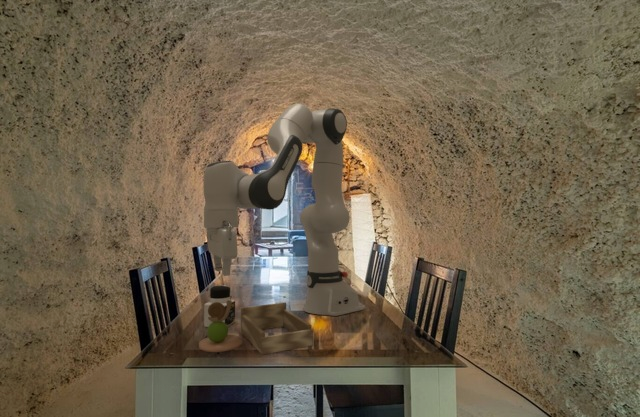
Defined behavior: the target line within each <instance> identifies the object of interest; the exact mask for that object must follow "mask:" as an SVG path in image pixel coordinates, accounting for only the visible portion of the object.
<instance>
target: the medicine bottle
mask: <svg viewBox="0 0 640 417" xmlns="http://www.w3.org/2000/svg"><path fill="white" fill-rule="evenodd" d="M209 291H210V292H209V293H210V295H209V301H208V302H206V303H204V309H203V310H204V311H203V312H204V313H203V314H204V318H203V322H204V324H203V326H204V327H205V328H208V327H209V325H210V324H211V323H213V322H211V321H210V320H209V319H208V317H211V316H210V315H209V314H208V308H209V306H210V305H211V304H212V303H215V302H219V303H221V304H223V305H224V307H225V310H226V307H227V304H226V302H227V301H228V300H231V301H232V304H231V308H230V312H229V315H228V317H227V318H226V319H225V320H223V321H222V322H224V323H225V324H226V325H227V327H228V328H229V326H231V325H232V324H234V323H235V322H236V300H235V299H231V298H230V296H231V287H230V286H228V285H224V284H223V285H221V284H219V285H214V286H212V287H211V288H210V290H209Z"/></svg>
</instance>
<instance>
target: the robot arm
mask: <svg viewBox="0 0 640 417" xmlns="http://www.w3.org/2000/svg"><path fill="white" fill-rule="evenodd" d="M347 128H348V121H347V117H346V115H345V114H344V112H343V111H342V110H341V109H339V108H334V107H333V108H330V107H329V108H327V109H325V108H324V109H316V110H313V111H312V110H311V109H310V107H308V106H307V105H305V104H304V103H293V104H291V105H290V106H288V107H287V108H286V109H284V111H283V112H282V113H280V115H279V117H277V118H276V120H275V121H274V122H273V124H272V125H271V127H270V128H269V131H268V132H267V136H266V139H267V144H268V146H269V148H270V149H271V150H272V151H273V152H274V154H276V156H275V158H274V160H273V162H272V164H271V165H270V167H269V168H268V169H267V170H265V171H262V172H260V173H254V174H249V173H246V172H245V171H244V170H242V169H240V168H239V167H238V166H237V165H236V164H235V162H234V161H232V160H221V161H216V162H215V161H214V162H211V163H209V164H208V165H206V167H205V170H204V174H203V197H204V208H203V228H204V229H205V232H206V241H207V249H208V253H210V254H212V258H213V262H214V270H215V271H216V272H217V271H220V272H221V275H222V276H224V277H227V276H230V275H231V267H232V260H233V259H237V258H238V237H237V236H238V235H237V232H236V229H235V228H238V227H239V209H243V210H246V209H250V210H253V209H258V210H259V209H262V210H269V211H270V210H275V209H276V208H278V207H279V206H280V205H281V204H282V203H283V202H284V199H285V197H286V194H287V188H288V185H289V181H290V179H291V177H292V175H293V172H294V171H295V168H296V167H297V164H298V162H299V160H300V157H301V155H302V152H303V144H314V146H315V151H314V157H313V164H312V165H313V166H312V174H311V187H312V189H313V192H314V198H315V203H310V204H309V205H307V206H305V207H304V208H303V209H302V210H301V211H300V214H299V220H300V224H301V226H302V228H303V231H304V235H305V240H306V246H307V257H308V258H307V259H308V260H307V262H308V263H307V264H308V265H307V266H308V267H307V268H308V269H307V271H306V284H307V285H306V286H307V292H306V300H305V303H304V307H303V311H304V312H306V313H308V314H312V315H322V316H324V315H325V316H331V317H332V316H333V317H338V316H341V315H345V314H346V315H347V314H350V313H354V312H359V311H364V310H365V309H366V307H365V305H364V304H363V303H362V302H360V301H359V300H360V299H359V295H358V293H357V291H356V290H355V289H354V288H353V287H352V286H350V284H348V283H347V282H345V281H344V279H343V278H345V279H346V278H348V276H349V273H348V272H347V271H341V270H339V248H338V246H337V245H336V242H335V240H334V239H335V238H334V236H333V234H335V233H336V234H337V233H339V232H341V231H344V230H345V229H346V228H347V227H348V225H349V223H350V212H349V210H348V208H347V207H346V205H345V203H344V197H343V190H342V189H343V188H342V187H343V186H342V182H343V171H344V146H343V142H342V141H343V139H344V137H345V134H346V133H347Z"/></svg>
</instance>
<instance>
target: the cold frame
mask: <svg viewBox="0 0 640 417" xmlns="http://www.w3.org/2000/svg"><path fill="white" fill-rule="evenodd" d="M281 327H284V328H285V329H286V330H288V331H289V332H285V333H279V334H274V335H273V334H271V335H266V332H265V331H264V330H265V329H266V330H268V329H273V328H281ZM240 333H241V334H243V336H244V337H246V339H248V341H249V342H250V343H251V344H252V345H253V347H254V348H255V349H256V350H257V351H258V352H259V353H260V354H261V355H262V356H263V355H268V354H273V353H280V352H284V351H290V350H294V349H299V348H306V347H311V346H314V329H313V326H312V324H311V323H309V322H308V321H305V319H303V318H301V317H299V316H298V315H296V314H294V313H293V312H291V311H289V310H288V309H287V302H279V303H278V302H277V303H268V304H262V305H261V304H260V305H251V306H245V307H240Z"/></svg>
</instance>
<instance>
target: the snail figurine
mask: <svg viewBox="0 0 640 417" xmlns="http://www.w3.org/2000/svg"><path fill="white" fill-rule="evenodd" d="M232 296H233V295H230V299H229V300H228V301H227V302H226V304H227V307H226V310H225V307H224V305H223V304H221V303H219V302H215V303H212V304H211V305H210V306H209V308H208V314H209V315H210V316H211V317H208V319H209V320H210V321H211V322H213V323H211V324H210V325H209V327H207V329H206V336H207V337H208V338H209V340H211V341H212V342H221V341H223V340H224V339H225V338H226V336H227V334H228V333H229V326H228V327H227V325H226V324H225V323H224V322H222V321H223V320H225V319H226V318H227V317H228V315H229V312H230V308H231V304H232V301H231V300H232V298H233V297H232Z"/></svg>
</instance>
